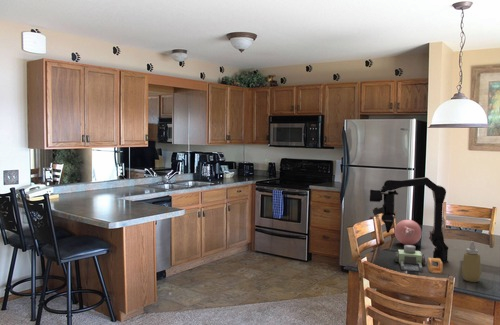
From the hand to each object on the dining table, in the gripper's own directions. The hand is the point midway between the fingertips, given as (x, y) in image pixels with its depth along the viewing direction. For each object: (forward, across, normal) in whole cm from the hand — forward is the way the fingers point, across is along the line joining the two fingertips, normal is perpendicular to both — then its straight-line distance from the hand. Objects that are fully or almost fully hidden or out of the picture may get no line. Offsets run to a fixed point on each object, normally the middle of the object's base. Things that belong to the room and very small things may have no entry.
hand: (388, 230), depth 231 cm
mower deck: (+14, +6, +11) cm, 19 cm away
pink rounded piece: (+15, -30, +9) cm, 35 cm away
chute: (+15, +16, +23) cm, 32 cm away
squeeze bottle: (+15, +26, +38) cm, 48 cm away
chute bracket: (+14, +16, +12) cm, 25 cm away
